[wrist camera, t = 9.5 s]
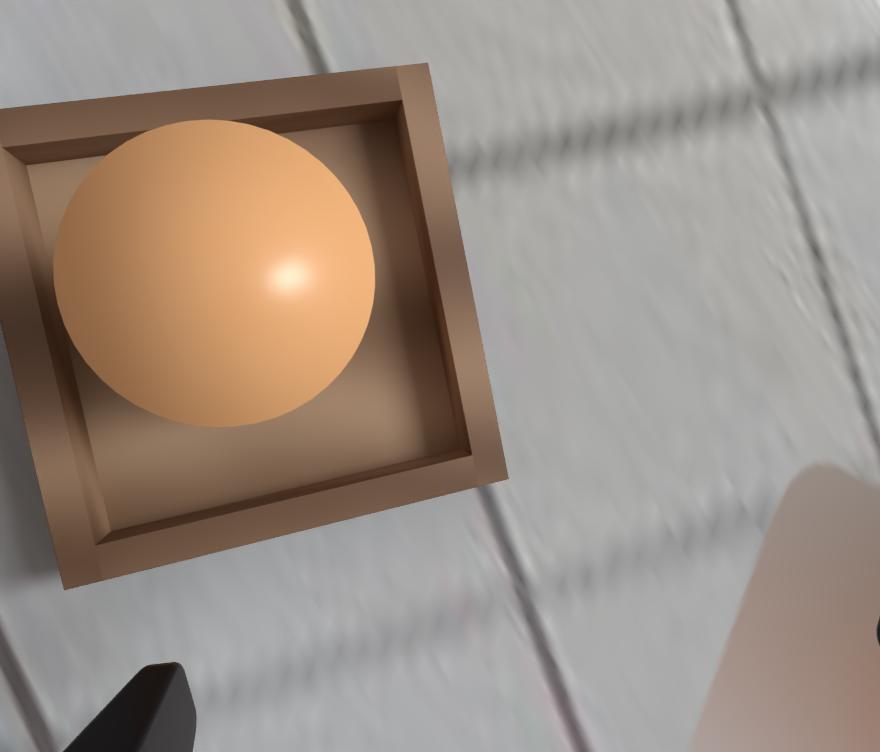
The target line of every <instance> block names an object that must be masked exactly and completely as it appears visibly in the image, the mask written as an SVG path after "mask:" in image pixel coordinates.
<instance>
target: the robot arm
mask: <svg viewBox="0 0 880 752" xmlns="http://www.w3.org/2000/svg"><path fill="white" fill-rule="evenodd" d="M877 638H878V642H879V645H880V618H879V621H878V625H877ZM195 733H196V709H195V705H194V702H193V698H192V695H191V691H190V688H189V685H188V681H187V678H186V674H185V671H184V669H183V667H182V665H181V664H179V663H177V662H171V663H162V664H153V665H148V666H145V667H144V668H142V669H141V670H140V671H139V672H138V673H137V674H136V675H135V676H134V677H133V678H132V679H131V680H130V681H129V682H128V683H127V684H126V685H125V687H124V688H123V689H122V690H121V691H120V692H119V693H118V694H117V695H116V696H115V697H114V698H113V699H112V700H111V701H110V702H109V703H108V704H107V706H106V707H105V708H104V709H103V710H102V711H101V712H100V713H99V714H98V715H97V716H96V717H95V718H94V719H93V720H92V721H91V722H90V723H89V725H88V726H87V727H86V728H85V729H84V730H83V731H82V732H81V733H80V734H79V735H78V736H77V737H76V738H75V739H74V740H73V741H72V742H71V744H70V745H69V746H68V747H67V748H66V749H65V750H64V751H63V752H193V746H194V739H195Z"/></svg>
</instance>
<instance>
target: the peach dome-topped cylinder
mask: <svg viewBox="0 0 880 752" xmlns="http://www.w3.org/2000/svg"><path fill="white" fill-rule="evenodd" d="M53 270H54V287H55V292H56V298H57V304H58V307H59V310H60V313H61V316H62V319H63V322H64V325H65V327H66V329H67V331H68V333H69V335H70V337H71V340H72V342H73V344H74V345H75V347H76V348H77V350H78V351H79V353H80V354H81V356H82V357H83V359H84V360H85V362H86V363H87V364H88V365H89V366H90V367H91V369H92V370H93V371H94V372H95V373H96V374H97V375H98V376H99V378H100V379H102V380H103V381H104V382H105V383H106V384H107V385H108V386H110V387H111V388H112V389H113V390H114V391H115V392H116V393H118V394H119V395H121V396H122V397H124V398H125V399H127V400H128V401H130V402H131V403H133V404H135V405H137V406H139V407H141V408H143V409H145V410H147V411H149V412H151V413H153V414H155V415H158V416H161V417H164V418H167V419H169V420H172V421H176V422H181V423H185V424H190V425H195V426H206V427H237V426H243V425H249V424H255V423H259V422H263V421H266V420H269V419H273V418H276V417H278V416H281V415H283V414H285V413H287V412H290V411H292V410H294V409H296V408H298V407H299V406H301V405H303V404H304V403H306V402H308V401H309V400H311V399H312V398H314V397H315V396H316V395H317V394H319V393H320V392H321V391H323V390H324V389H325V388H326V387H327V386H328V385H329V384H330V383H331V382H332V381H333V380H334V379H335V378H336V377H337V376H338V375H339V374H340V373H341V372H342V370H343V369H344V368H345V366H346V365H347V364H348V362H349V361H350V360H351V358H352V357H353V355H354V353H355V351H356V350H357V348H358V346H359V344H360V342H361V340H362V338H363V335H364V333H365V330H366V328H367V325H368V323H369V318H370V314H371V310H372V306H373V300H374V290H375V265H374V258H373V252H372V246H371V242H370V239H369V236H368V232H367V229H366V226H365V224H364V221H363V219H362V217H361V215H360V212H359V210H358V208H357V207H356V205H355V203H354V201H353V200H352V198H351V196H350V195H349V193H348V192H347V190H346V189H345V188H344V187H343V185H342V184H341V183H340V181H339V180H338V179H337V177H336V176H335V175H334V174H333V173H332V172H331V171H330V170H329V169H328V168H327V167H326V166H325V165H324V164H323V163H322V162H320V161H319V160H318V159H317V158H315V157H314V156H313V155H312V154H310V153H309V152H308V151H307V150H305V149H303V148H302V147H300V146H298V145H297V144H295V143H294V142H292V141H290V140H289V139H287V138H284V137H282V136H280V135H278V134H275V133H273V132H271V131H269V130H265V129H262V128H259V127H256V126H253V125H249V124H244V123H238V122H233V121H225V120H194V121H184V122H179V123H174V124H169V125H165V126H162V127H159V128H156V129H153V130H150V131H147V132H145V133H143V134H141V135H139V136H137V137H135V138H133V139H131V140H129V141H127V142H125V143H124V144H122V145H121V146H119V147H118V148H116V149H115V150H113V151H112V152H110V153H109V154H108V155H107V156H106V157H105V158H104V159H102V160H101V161H100V162H99V163H98V164H97V165H96V166H95V167H94V168H93V169H92V170H91V171H90V172H89V174H88V175H87V176H86V177H85V179H84V180H83V181H82V182H81V183H80V185H79V186H78V188H77V190H76V191H75V193H74V195H73V196H72V198H71V200H70V201H69V203H68V206H67V208H66V210H65V213H64V215H63V217H62V220H61V223H60V227H59V230H58V234H57V238H56V242H55V251H54V260H53Z"/></svg>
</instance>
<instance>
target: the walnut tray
mask: <svg viewBox="0 0 880 752" xmlns="http://www.w3.org/2000/svg"><path fill="white" fill-rule="evenodd" d="M194 120H225V121H233V122H238V123H244V124H249V125H253V126H256V127H259V128H262V129H265V130H269V131H271V132H273V133H275V134H278V135H280V136H282V137H284V138H287V139H289V140H290V141H292V142H294V143H295V144H297V145H298V146H300V147H302V148H303V149H305V150H307V151H308V152H309V153H310V154H312V155H313V156H314V157H315V158H317V159H318V160H319V161H320V162H322V163H323V164H324V165H325V166H326V167H327V168H328V169H329V170H330V171H331V172H332V173H333V174H334V175H335V176H336V177H337V179H338V180H339V181H340V183H341V184H342V185H343V187H344V188H345V189H346V190H347V192H348V193H349V195H350V196H351V198H352V200H353V201H354V203H355V205H356V207H357V208H358V210H359V212H360V215H361V217H362V219H363V221H364V224H365V226H366V229H367V232H368V236H369V239H370V242H371V246H372V252H373V258H374V265H375V290H374V300H373V306H372V310H371V314H370V318H369V323H368V325H367V328H366V330H365V333H364V335H363V338H362V340H361V342H360V344H359V346H358V348H357V350H356V351H355V353H354V355H353V357H352V358H351V360H350V361H349V362H348V364H347V365H346V366H345V368H344V369H343V370H342V372H341V373H340V374H339V375H338V376H337V377H336V378H335V379H334V380H333V381H332V382H331V383H330V384H329V385H328V386H327V387H326V388H325V389H324V390H323V391H321V392H320V393H319V394H317V395H316V396H315V397H314V398H312V399H311V400H309V401H308V402H306V403H304V404H303V405H301V406H299V407H298V408H296V409H294V410H292V411H290V412H287V413H285V414H283V415H281V416H278V417H276V418H273V419H269V420H266V421H263V422H259V423H255V424H249V425H243V426H237V427H206V426H195V425H190V424H185V423H181V422H176V421H172V420H169V419H167V418H164V417H161V416H158V415H155V414H153V413H151V412H149V411H147V410H145V409H143V408H141V407H139V406H137V405H135V404H133V403H131V402H130V401H128V400H127V399H125V398H124V397H122V396H121V395H119V394H118V393H116V392H115V391H114V390H113V389H112V388H111V387H110V386H108V385H107V384H106V383H105V382H104V381H103V380H102V379H100V378H99V376H98V375H97V374H96V373H95V372H94V371H93V370H92V369H91V367H90V366H89V365H88V364H87V363H86V362H85V360H84V359H83V357H82V356H81V354H80V353H79V351H78V350H77V348H76V347H75V345H74V344H73V342H72V340H71V337H70V335H69V333H68V331H67V329H66V327H65V325H64V322H63V319H62V316H61V313H60V310H59V307H58V304H57V298H56V292H55V287H54V270H53V260H54V251H55V242H56V238H57V234H58V230H59V227H60V223H61V220H62V217H63V215H64V213H65V210H66V208H67V206H68V203H69V201H70V200H71V198H72V196H73V195H74V193H75V191H76V190H77V188H78V186H79V185H80V183H81V182H82V181H83V180H84V179H85V177H86V176H87V175H88V174H89V172H90V171H91V170H92V169H93V168H94V167H95V166H96V165H97V164H98V163H99V162H100V161H101V160H102V159H104V158H105V157H106V156H107V155H108V154H109V153H110V152H112V151H113V150H115V149H116V148H118V147H119V146H121V145H122V144H124V143H125V142H127V141H129V140H131V139H133V138H135V137H137V136H139V135H141V134H143V133H145V132H147V131H150V130H153V129H156V128H159V127H162V126H165V125H169V124H174V123H179V122H184V121H194ZM0 321H1V326H2V330H3V334H4V338H5V343H6V347H7V351H8V355H9V360H10V364H11V368H12V372H13V376H14V381H15V385H16V389H17V393H18V398H19V402H20V406H21V410H22V414H23V419H24V423H25V427H26V431H27V436H28V440H29V444H30V448H31V452H32V457H33V461H34V465H35V469H36V474H37V478H38V482H39V486H40V490H41V495H42V499H43V503H44V507H45V512H46V516H47V520H48V524H49V529H50V533H51V537H52V541H53V545H54V550H55V554H56V558H57V562H58V567H59V571H60V575H61V579H62V583H63V588H64V590H67V589H71V588H75V587H79V586H83V585H87V584H91V583H95V582H99V581H103V580H107V579H111V578H115V577H119V576H123V575H127V574H131V573H135V572H139V571H143V570H147V569H151V568H155V567H159V566H163V565H167V564H171V563H175V562H179V561H183V560H187V559H191V558H195V557H199V556H203V555H207V554H211V553H215V552H219V551H223V550H227V549H231V548H235V547H239V546H243V545H247V544H251V543H255V542H259V541H263V540H267V539H271V538H275V537H279V536H283V535H287V534H291V533H295V532H299V531H303V530H307V529H311V528H315V527H319V526H323V525H327V524H331V523H335V522H339V521H343V520H347V519H351V518H355V517H359V516H363V515H367V514H371V513H375V512H379V511H383V510H387V509H391V508H395V507H399V506H403V505H407V504H411V503H415V502H419V501H423V500H427V499H431V498H435V497H439V496H443V495H447V494H451V493H455V492H459V491H463V490H467V489H471V488H475V487H479V486H483V485H487V484H491V483H495V482H499V481H503V480H507V479H509V478H508V473H507V468H506V463H505V458H504V452H503V447H502V442H501V437H500V432H499V427H498V421H497V416H496V411H495V406H494V401H493V396H492V391H491V385H490V380H489V375H488V370H487V365H486V360H485V354H484V349H483V344H482V339H481V334H480V329H479V324H478V318H477V313H476V308H475V303H474V298H473V293H472V287H471V282H470V277H469V272H468V267H467V262H466V257H465V251H464V246H463V241H462V236H461V231H460V226H459V220H458V215H457V210H456V205H455V200H454V195H453V190H452V184H451V179H450V174H449V169H448V164H447V159H446V153H445V148H444V143H443V138H442V133H441V128H440V123H439V117H438V112H437V107H436V102H435V97H434V92H433V86H432V81H431V76H430V71H429V66H428V63H422V64H412V65H403V66H394V67H384V68H375V69H366V70H357V71H347V72H338V73H329V74H320V75H310V76H301V77H292V78H283V79H273V80H264V81H255V82H246V83H236V84H227V85H218V86H209V87H199V88H190V89H181V90H172V91H162V92H153V93H144V94H135V95H125V96H116V97H107V98H98V99H88V100H79V101H70V102H61V103H51V104H42V105H33V106H23V107H14V108H5V109H0Z"/></svg>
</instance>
